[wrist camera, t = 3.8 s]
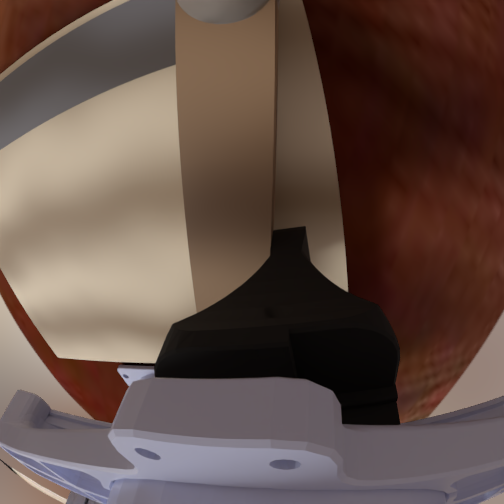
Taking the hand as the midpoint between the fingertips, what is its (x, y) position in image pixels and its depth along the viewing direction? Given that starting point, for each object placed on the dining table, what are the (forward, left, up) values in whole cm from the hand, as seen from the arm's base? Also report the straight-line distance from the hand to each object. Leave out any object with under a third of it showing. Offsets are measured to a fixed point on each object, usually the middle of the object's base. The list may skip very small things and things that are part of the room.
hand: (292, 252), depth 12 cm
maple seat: (+2, +8, -3) cm, 9 cm away
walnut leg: (+3, +1, -1) cm, 4 cm away
